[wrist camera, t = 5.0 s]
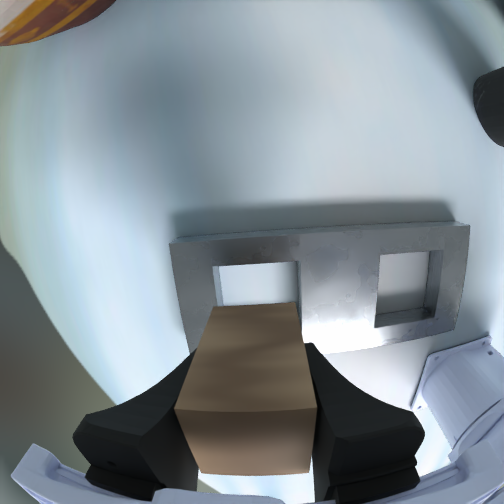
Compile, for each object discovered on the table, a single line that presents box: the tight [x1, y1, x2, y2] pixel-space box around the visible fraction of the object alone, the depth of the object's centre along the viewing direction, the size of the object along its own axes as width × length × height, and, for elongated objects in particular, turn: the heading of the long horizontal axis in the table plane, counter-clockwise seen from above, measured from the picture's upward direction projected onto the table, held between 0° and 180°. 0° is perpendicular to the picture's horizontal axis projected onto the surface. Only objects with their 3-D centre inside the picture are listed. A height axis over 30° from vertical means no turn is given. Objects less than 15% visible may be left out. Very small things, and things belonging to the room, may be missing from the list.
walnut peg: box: [174, 302, 317, 476], centre depth 11 cm, size 4×4×7 cm
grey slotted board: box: [169, 221, 470, 354], centre depth 19 cm, size 22×9×2 cm, turn 95°
